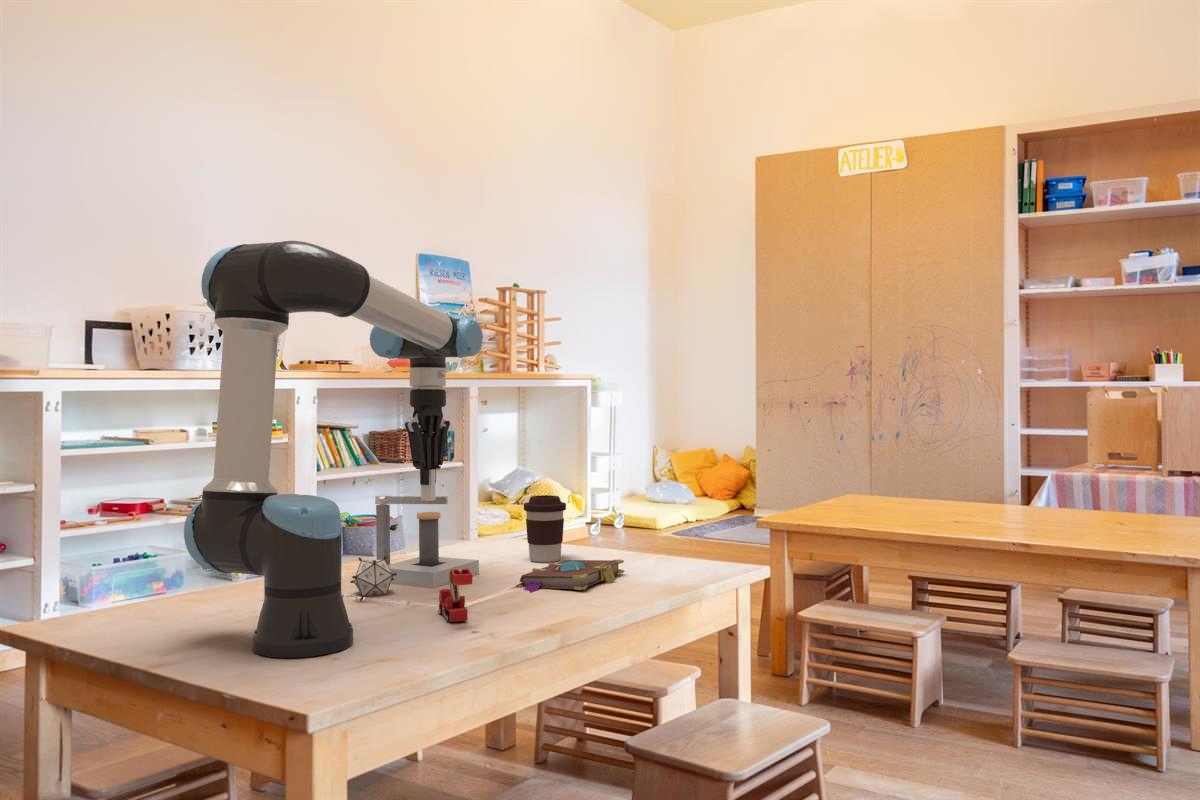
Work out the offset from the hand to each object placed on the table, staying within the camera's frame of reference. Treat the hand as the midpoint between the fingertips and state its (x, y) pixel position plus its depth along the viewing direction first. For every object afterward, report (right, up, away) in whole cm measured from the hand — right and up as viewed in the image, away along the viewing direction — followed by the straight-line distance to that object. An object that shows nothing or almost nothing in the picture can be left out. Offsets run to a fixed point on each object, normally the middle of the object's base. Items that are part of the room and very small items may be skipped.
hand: (428, 500), depth 209 cm
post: (-10, -17, +3) cm, 20 cm away
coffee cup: (+23, -17, +24) cm, 37 cm away
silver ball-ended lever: (-4, -1, +2) cm, 5 cm away
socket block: (+1, -17, -2) cm, 17 cm away
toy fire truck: (+11, -18, -36) cm, 41 cm away
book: (+30, -18, -3) cm, 35 cm away
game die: (-8, -17, -18) cm, 26 cm away
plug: (+1, -16, -2) cm, 16 cm away
